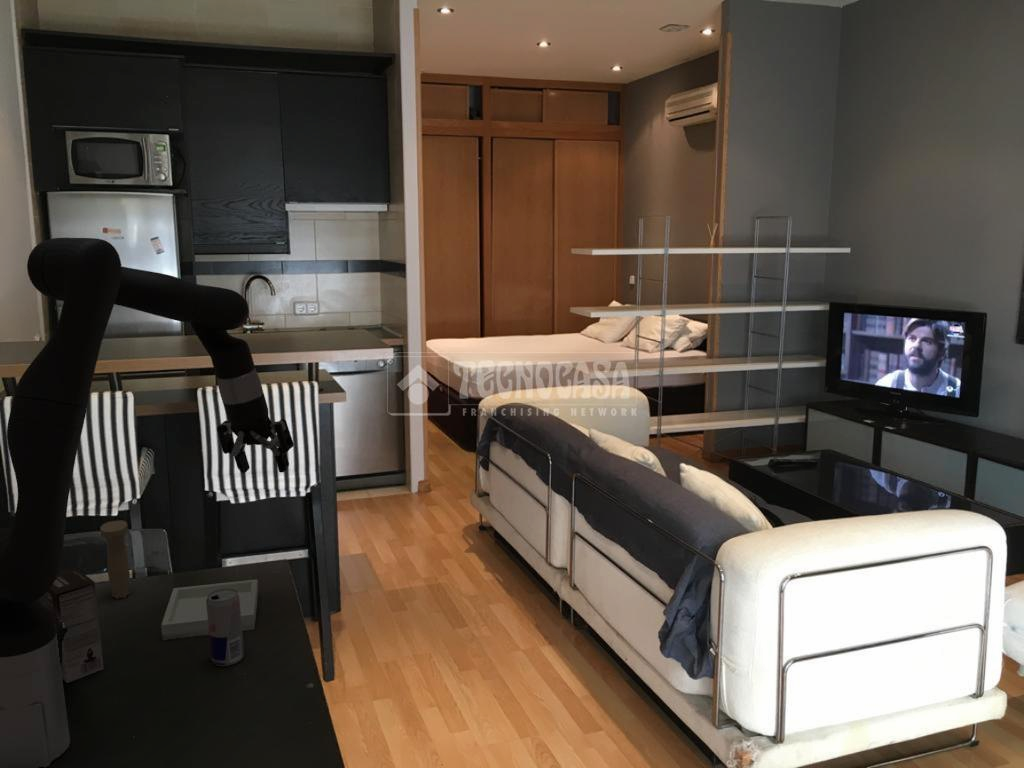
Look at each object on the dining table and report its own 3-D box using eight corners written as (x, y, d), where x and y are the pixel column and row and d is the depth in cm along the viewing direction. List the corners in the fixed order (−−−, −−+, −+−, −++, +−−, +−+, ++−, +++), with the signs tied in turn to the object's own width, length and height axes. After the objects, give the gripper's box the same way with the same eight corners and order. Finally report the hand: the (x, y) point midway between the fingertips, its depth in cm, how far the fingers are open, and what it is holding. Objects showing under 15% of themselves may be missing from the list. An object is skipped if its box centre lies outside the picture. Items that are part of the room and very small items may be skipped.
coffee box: (45, 665, 144) (34, 577, 141) (84, 651, 148) (74, 566, 145) (66, 684, 138) (55, 593, 135) (106, 669, 142) (96, 580, 139)
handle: (134, 587, 174) (127, 519, 171) (133, 600, 168) (126, 529, 165) (109, 591, 172) (101, 522, 169) (107, 604, 166) (99, 533, 164)
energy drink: (209, 655, 147) (204, 591, 144) (241, 648, 149) (236, 585, 146) (213, 670, 142) (207, 604, 139) (246, 662, 144) (241, 597, 142)
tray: (254, 629, 156) (253, 614, 155) (162, 640, 152) (161, 625, 151) (258, 593, 171) (257, 579, 170) (174, 602, 167) (173, 588, 167)
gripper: (198, 404, 155) (222, 480, 161) (265, 401, 151) (287, 480, 157) (220, 388, 162) (243, 462, 168) (285, 385, 158) (306, 461, 164)
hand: (264, 470), depth 163 cm, fingers open, 8 cm apart
